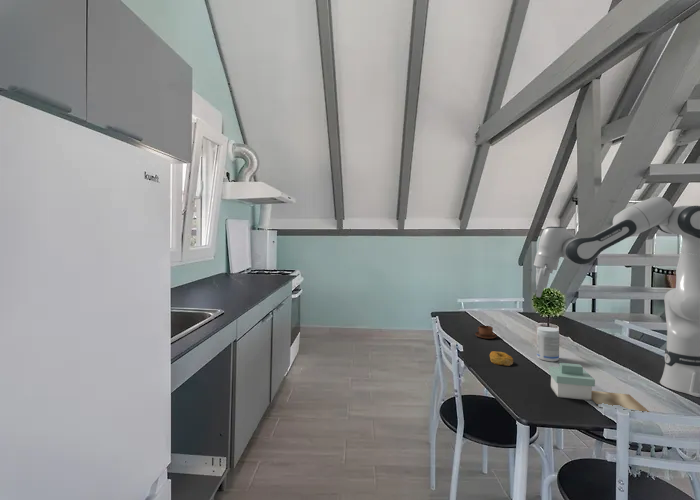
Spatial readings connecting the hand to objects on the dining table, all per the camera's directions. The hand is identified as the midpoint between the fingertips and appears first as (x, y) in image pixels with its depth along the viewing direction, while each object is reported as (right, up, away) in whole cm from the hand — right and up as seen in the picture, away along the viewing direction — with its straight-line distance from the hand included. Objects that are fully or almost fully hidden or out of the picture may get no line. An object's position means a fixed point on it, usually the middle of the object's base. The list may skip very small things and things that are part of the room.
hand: (537, 295), depth 154 cm
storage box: (+4, -35, -17) cm, 39 cm away
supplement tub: (+16, -34, +23) cm, 44 cm away
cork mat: (+16, -35, -23) cm, 45 cm away
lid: (+4, -30, -17) cm, 34 cm away
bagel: (-8, -34, +17) cm, 39 cm away
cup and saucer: (0, -33, +60) cm, 68 cm away
